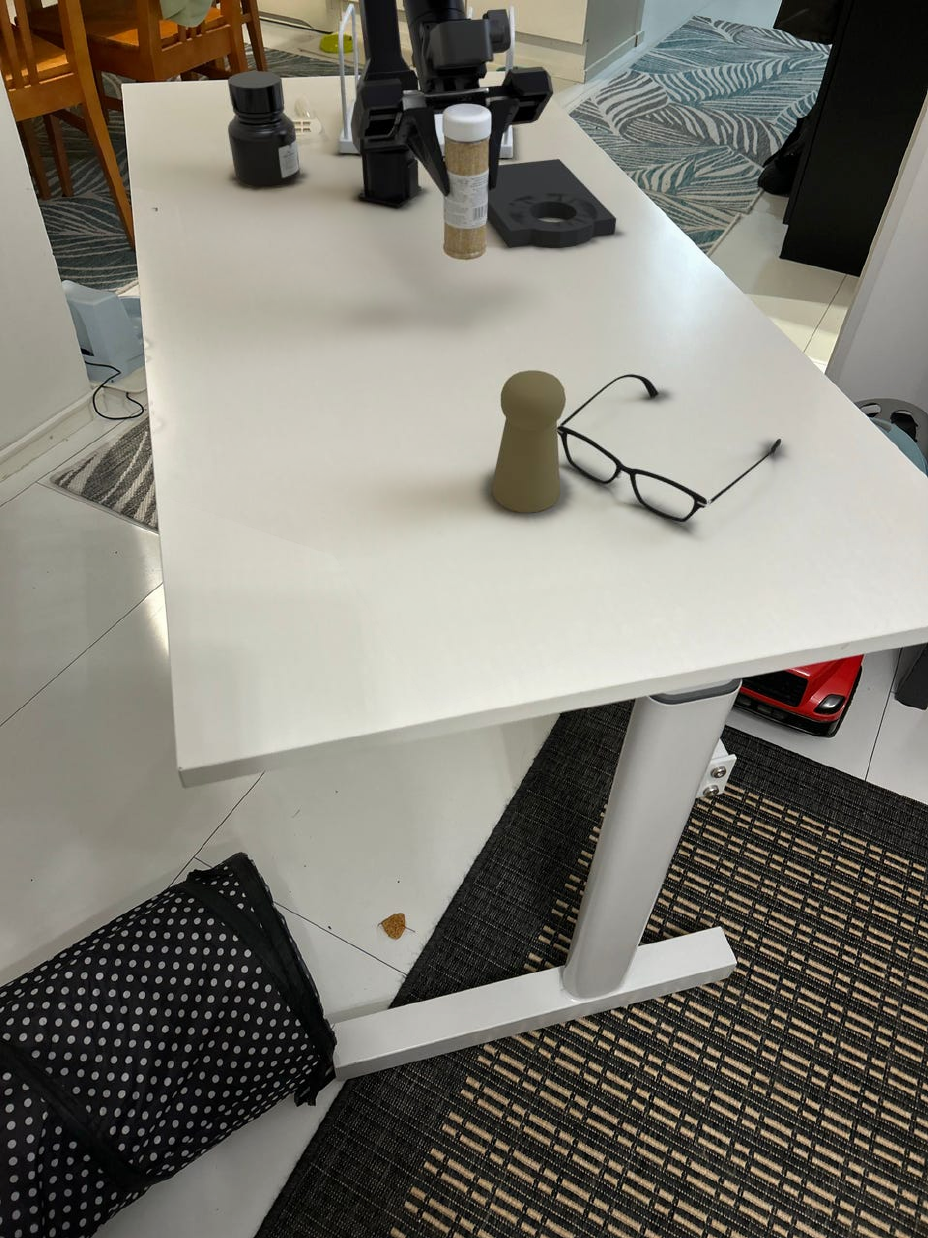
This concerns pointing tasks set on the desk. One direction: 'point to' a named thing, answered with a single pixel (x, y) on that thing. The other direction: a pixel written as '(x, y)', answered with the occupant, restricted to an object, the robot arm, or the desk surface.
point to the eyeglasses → (698, 499)
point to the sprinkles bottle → (466, 179)
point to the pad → (545, 206)
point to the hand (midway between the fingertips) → (470, 192)
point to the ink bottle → (261, 131)
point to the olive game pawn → (529, 443)
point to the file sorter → (507, 139)
